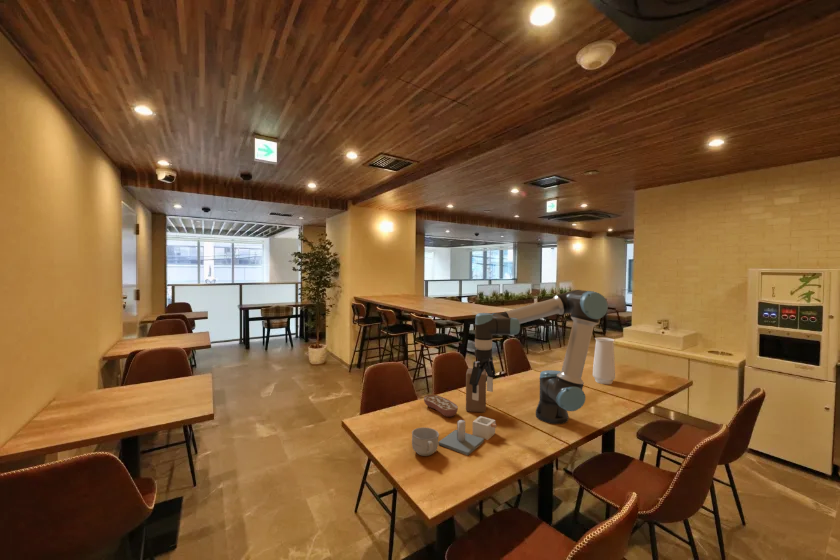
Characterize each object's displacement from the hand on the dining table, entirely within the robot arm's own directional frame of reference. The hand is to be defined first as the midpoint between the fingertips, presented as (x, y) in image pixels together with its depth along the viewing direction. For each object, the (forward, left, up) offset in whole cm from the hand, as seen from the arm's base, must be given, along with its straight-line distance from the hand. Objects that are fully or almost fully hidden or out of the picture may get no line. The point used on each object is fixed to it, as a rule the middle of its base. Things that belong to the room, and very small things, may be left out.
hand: (482, 395), depth 156 cm
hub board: (+3, +14, -17) cm, 22 cm away
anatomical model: (+28, -9, -17) cm, 34 cm away
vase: (-31, -111, -17) cm, 117 cm away
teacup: (+10, +30, -17) cm, 36 cm away
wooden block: (+15, -22, -17) cm, 32 cm away
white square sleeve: (-1, +1, -17) cm, 17 cm away
